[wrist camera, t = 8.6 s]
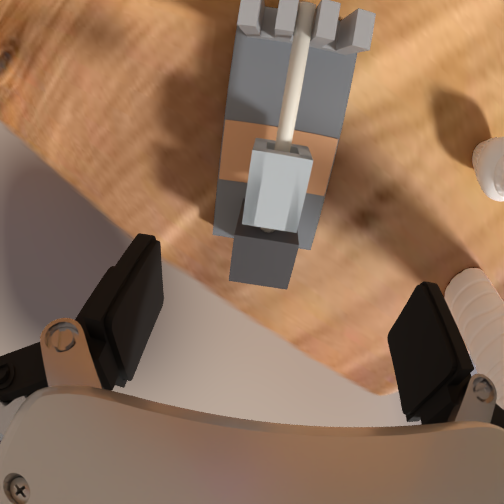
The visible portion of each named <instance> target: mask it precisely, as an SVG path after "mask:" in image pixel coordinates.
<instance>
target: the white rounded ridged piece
mask: <svg viewBox="0 0 504 504" xmlns="http://www.w3.org/2000/svg"><path fill="white" fill-rule="evenodd" d="M473 152H474V153H473V156H472V163H473V167H474V170H475V174H476V177H477V181H478V182H479V184H480V186H481V188H482V190H483V192H484V193H485V194H486V195H487V196H488V197H489V198H491V199H493V200H496V201H504V137H498V138H497V137H494V138H490V139H488V140H486V141H483V142H481V143H479V144H478V145H477V146H476V148H475V150H474V151H473Z"/></svg>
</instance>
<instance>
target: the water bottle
mask: <svg viewBox="0 0 504 504" xmlns="http://www.w3.org/2000/svg"><path fill="white" fill-rule="evenodd" d="M444 299H445V301H446V303H447V305H448V307H449V309H450V311H451V314H452V316H453V318H454V320H455V323H456V325H457V326H458V328H459V331H460V333H461V336H462V338H463V340H464V341H465V344H466V347H467V349H468V350H469V352H470V355H471V358H472V360H473V362H474V364H475V365H476V370H477V373H478V374H483V375H485V376H487V377H488V378H489V379H490V380H491V381H492V382H493V384H494V386H495V388H496V392H497V400H496V404H497V405H499V406H500V407H501V408H502V409H503V410H504V301H503V299H502V298H501V297H500V296H499V294H498V292H497V290H496V289H495V287H494V286H493V285H492V283H491V282H490V280H489V278H488V277H487V276H486V274H485V273H484V272H483V271H482V270H481V269H479V268H468V269H465V270H463V271H462V272H461V273H459V274H457V275H456V276H455V277H454V278H453V279H452V280H451V282H450V284H449V285H448V286H447V288H446V290H445V297H444Z"/></svg>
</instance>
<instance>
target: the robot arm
mask: <svg viewBox="0 0 504 504" xmlns="http://www.w3.org/2000/svg"><path fill="white" fill-rule="evenodd" d="M163 300H164V295H163V282H162V266H161V247H160V241H157V240H156V238H155V236H152V235H146V234H141V233H139V234H138V235H137V236H136V237H135V239H134V240H133V241H132V243H131V244H130V246H129V247H128V248H127V250H126V251H125V253H124V254H123V255H122V257H121V258H120V260H119V261H118V263H117V264H116V266H112V267H110V268H109V269H108V270H107V272H106V273H105V275H104V276H103V278H102V279H101V281H100V282H99V284H98V285H97V287H96V288H95V290H94V291H93V293H92V294H91V296H90V297H89V299H88V300H87V302H86V303H85V305H84V306H83V308H82V310H81V311H80V313H79V314H78V316H77V318H76V319H75V320H73V319H70V318H61V319H57V320H54V321H52V322H51V323H49V324H48V325H47V326H46V327H45V328H44V330H43V331H42V334H41V337H40V342H38V343H35V344H33V345H30V346H27V347H25V348H22V349H19V350H17V351H14V352H11V353H8V354H6V355H3V356H0V504H504V410H503V409H502V408H501V407H500V406H499V405H497V404H496V400H497V392H496V388H495V386H494V384H493V382H492V381H491V380H490V379H489V378H488V377H487V376H485V375H483V374H475V375H473V376H472V377H471V374H470V372H472V371H473V370H474V367H473V364H472V362H471V359H470V356H469V354H468V351H467V349H466V346H465V344H464V341H463V339H462V336H461V334H460V332H459V329H458V327H457V325H456V323H455V320H454V318H453V316H452V314H451V311H450V309H449V307H448V305H447V303H446V301H445V299H444V297H443V295H442V293H441V291H440V289H439V287H438V285H437V284H435V283H430V282H422V283H421V284H420V285H417V286H416V288H415V290H414V291H413V293H412V295H411V297H410V298H409V300H408V302H407V304H406V305H405V307H404V309H403V310H402V312H401V314H400V315H399V317H398V319H397V320H396V322H395V323H394V325H393V327H392V328H391V330H390V331H389V334H388V344H389V348H390V353H391V357H392V361H393V366H394V370H395V375H396V380H397V385H398V390H399V394H400V400H401V406H402V411H403V413H404V414H405V415H406V418H407V422H413V421H419V420H420V419H421V423H422V424H421V425H412V426H395V427H320V426H303V425H290V424H280V423H270V422H261V421H253V420H246V419H239V418H232V417H226V416H220V415H215V414H209V413H204V412H199V411H194V410H189V409H184V408H180V407H175V406H171V405H166V404H162V403H157V402H153V401H150V400H146V399H142V398H138V397H134V396H130V395H126V394H122V393H118V392H114V391H111V390H113V388H114V385H117V386H120V387H125V384H126V382H127V380H128V381H131V380H132V379H133V376H134V374H135V371H136V369H137V366H138V364H139V361H140V358H141V356H142V353H143V351H144V349H145V346H146V344H147V341H148V339H149V337H150V334H151V332H152V329H153V327H154V324H155V322H156V320H157V318H158V315H159V313H160V311H161V308H162V306H163Z"/></svg>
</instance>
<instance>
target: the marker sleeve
mask: <svg viewBox="0 0 504 504" xmlns="http://www.w3.org/2000/svg"><path fill="white" fill-rule="evenodd" d="M275 142H276V141H274V140H268V139H262V138H256V139H255V143H254V146H253V149H252V156H251V162H250V169H249V176H248V183H247V190H246V197H245V204H244V212H243V219H242V224H244V225H250V226H256V227H263V228H269V229H275V230H281V231H287V232H294V233H297V229H298V225H299V221H300V217H301V212H302V208H303V204H304V200H305V195H306V191H307V187H308V182H309V178H310V174H311V169H312V165H313V158H312V156H311V153H310V151H309V148H308V147H307V146H302V145H297V144H291V149H290V153H289V152H283V151H277V150H274V148H275Z"/></svg>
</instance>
